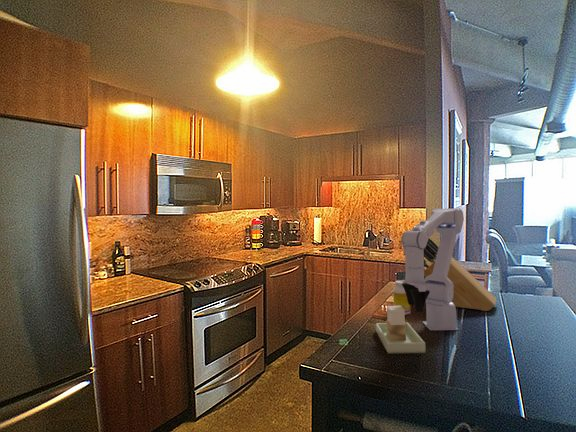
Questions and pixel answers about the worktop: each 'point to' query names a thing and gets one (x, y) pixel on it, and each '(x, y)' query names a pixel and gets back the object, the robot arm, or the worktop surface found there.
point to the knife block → (461, 283)
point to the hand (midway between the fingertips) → (415, 307)
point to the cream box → (396, 315)
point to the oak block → (396, 332)
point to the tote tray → (406, 346)
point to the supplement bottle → (401, 297)
